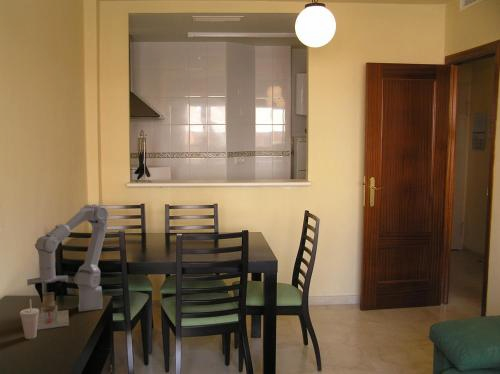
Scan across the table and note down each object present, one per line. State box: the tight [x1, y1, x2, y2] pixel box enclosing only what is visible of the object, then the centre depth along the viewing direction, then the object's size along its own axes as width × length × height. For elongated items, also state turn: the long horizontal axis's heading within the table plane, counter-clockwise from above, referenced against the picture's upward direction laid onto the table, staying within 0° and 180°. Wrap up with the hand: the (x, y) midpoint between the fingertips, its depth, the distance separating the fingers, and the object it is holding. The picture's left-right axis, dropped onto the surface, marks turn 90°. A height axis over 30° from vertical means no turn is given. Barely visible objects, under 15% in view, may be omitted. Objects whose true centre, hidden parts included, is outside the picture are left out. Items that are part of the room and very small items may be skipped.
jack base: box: [37, 304, 70, 331], centre depth 181 cm, size 14×14×6 cm
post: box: [42, 291, 56, 311], centre depth 181 cm, size 4×4×8 cm
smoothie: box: [19, 298, 40, 340], centre depth 167 cm, size 6×6×14 cm
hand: (48, 300), depth 181 cm, fingers closed on post, 4 cm apart
